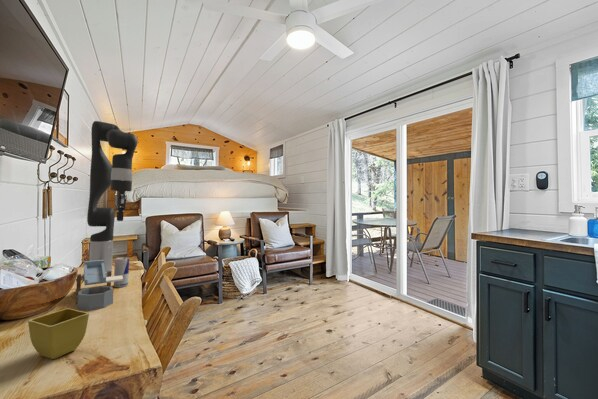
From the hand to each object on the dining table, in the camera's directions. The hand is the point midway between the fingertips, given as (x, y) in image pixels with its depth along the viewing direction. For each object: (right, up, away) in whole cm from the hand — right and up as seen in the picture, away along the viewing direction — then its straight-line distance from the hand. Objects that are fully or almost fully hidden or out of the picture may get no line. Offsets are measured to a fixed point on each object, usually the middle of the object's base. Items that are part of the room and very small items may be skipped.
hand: (119, 220), depth 117 cm
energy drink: (-3, -29, +5) cm, 30 cm away
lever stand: (-5, -29, -8) cm, 30 cm away
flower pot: (+16, -29, -48) cm, 59 cm away
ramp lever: (-3, -22, -6) cm, 23 cm away
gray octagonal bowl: (+2, -29, -17) cm, 34 cm away
